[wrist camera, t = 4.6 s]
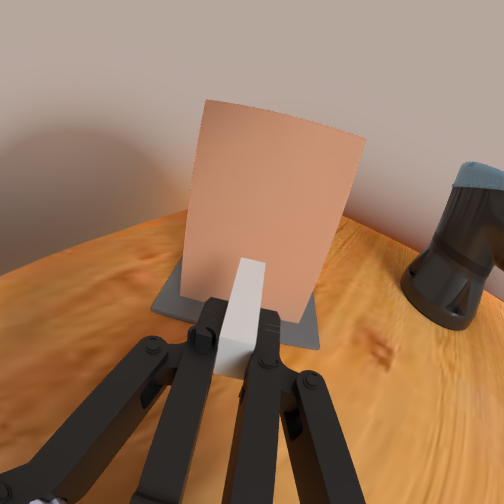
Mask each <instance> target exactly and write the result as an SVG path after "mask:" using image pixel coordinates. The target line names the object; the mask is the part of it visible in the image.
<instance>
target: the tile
mask: <svg viewBox="0 0 504 504" xmlns="http://www.w3.org/2000/svg"><path fill="white" fill-rule="evenodd" d="M365 141H366V139H365V138H362V137H359V136H357V135H354V134H351V133H348V132H345V131H342V130H339V129H336V128H333V127H330V126H326V125H323V124H320V123H316V122H313V121H309V120H305V119H302V118H298V117H294V116H290V115H286V114H282V113H278V112H273V111H269V110H264V109H259V108H255V107H249V106H244V105H239V104H233V103H227V102H220V101H213V100H206V101H205V106H204V111H203V116H202V121H201V127H200V132H199V138H198V144H197V150H196V156H195V162H194V169H193V176H192V183H191V189H190V197H189V205H188V213H187V221H186V230H185V240H184V250H183V261H182V273H181V286H180V296H183V297H186V298H190V299H194V300H198V301H202V302H205V301H207V300H208V299H209V298H210V297H214V298H218V299H223V300H227V301H229V300H230V296H231V292H232V289H233V285H234V281H235V278H236V274H237V271H238V267H239V263H240V260H241V257H243V258H247V259H251V260H255V261H260V262H264V263H266V264H265V273H264V281H263V289H262V298H261V306H260V308H264V309H268V310H273V311H277V312H278V314H279V316H280V318H281V320H284V321H288V322H293V323H298V324H299V322H300V320H301V317H302V315H303V313H304V310H305V308H306V306H307V303H308V301H309V299H310V296H311V294H312V292H313V289H314V287H315V284H316V282H317V280H318V277H319V275H320V272H321V270H322V267H323V265H324V262H325V259H326V257H327V254H328V252H329V249H330V246H331V244H332V241H333V238H334V236H335V233H336V230H337V227H338V225H339V222H340V219H341V216H342V213H343V211H344V208H345V205H346V202H347V199H348V196H349V193H350V189H351V186H352V183H353V181H354V178H355V174H356V171H357V168H358V165H359V161H360V158H361V155H362V151H363V148H364V145H365Z"/></svg>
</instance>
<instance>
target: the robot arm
mask: <svg viewBox="0 0 504 504" xmlns="http://www.w3.org/2000/svg"><path fill="white" fill-rule="evenodd" d="M452 187H453V189H452V191H451V194H450V197H449V199H448V202H447V205H446V207H445V210H444V212H443V215H442V217H441V220H440V222H439V224H438V227H437V229H436V231H435V234H434V236H433V238H432V240H431V242H430V243H429V245H428V246H427V247H426V248H425V249H424V250H423V251H422V252H421V253H420V254H419V255H418V256H417V257H416V258H415V260H414V261H413V262H412V263H411V264H410V265H409V266H408V267H407V268H406V270H405V272H404V274H403V276H402V278H401V287H402V289H403V291H404V293H405V295H406V296H407V298H408V299H409V300H410V301H411V303H412V304H413V305H414V306H415V307H416V308H417V309H418V310H419V311H420V312H422V313H423V314H424V315H425V316H427V317H428V318H429V319H431V320H432V321H434V322H436V323H437V324H439V325H441V326H443V327H446V328H448V329H452V330H459V331H460V330H464V329H466V328H467V327H468V326H469V325H470V323H471V322H472V320H473V319H474V317H475V315H476V313H477V309H478V306H479V303H480V300H481V296H482V293H483V289H484V285H485V282H486V279H487V278H488V276H489V274H490V272H491V270H492V268H493V267H494V265H495V266H497V267H498V268H500V269H501V270H502V271H504V172H503V171H501V170H499V169H496V168H493V167H491V166H488V165H485V164H482V163H477V162H465V163H464V164H463V165H462V166H461V167H460V170H459V172H458V175H457V177H456V180H455V182H454V184H453V185H452ZM265 264H266V263H264V262H260V261H255V260H251V259H247V258H243V257H241V260H240V263H239V267H238V271H237V274H236V278H235V281H234V285H233V289H232V292H231V296H230V300H229V301H227V300H223V299H218V298H214V297H210V298H209V299H208V300H207V301H205V303H204V306H203V309H202V311H201V314H200V317H199V319H198V322H197V324H196V325H194V326H192V327H190V329H189V330H188V336H187V341H186V342H185V343H181V344H167V343H166V341H165V340H164V339H162V338H161V337H158V336H147V337H144V338H143V339H141V340H140V341H139V342H138V343H137V344H136V345H135V347H134V348H133V349H132V350H131V351H130V352H129V353H128V354H127V355H126V356H125V357H124V358H123V359H122V360H121V361H120V362H119V363H118V365H117V366H116V367H115V368H114V369H113V370H112V371H111V372H110V373H109V374H108V375H107V376H106V377H105V378H104V380H103V381H102V382H101V383H100V384H99V385H98V386H97V387H96V388H95V389H94V390H93V391H92V393H91V394H90V395H89V396H88V397H87V398H86V399H85V400H84V401H83V402H82V403H81V405H80V406H79V407H78V408H77V409H76V410H75V411H74V412H73V413H72V414H71V416H70V417H69V418H68V419H67V420H66V421H65V422H64V423H63V424H62V426H61V427H60V428H59V429H58V430H57V431H56V432H55V433H54V435H53V436H52V437H51V438H50V439H49V440H48V441H47V442H46V444H45V445H44V446H43V447H42V448H41V449H40V450H39V452H38V453H37V454H36V455H35V456H34V457H33V458H32V460H31V461H30V462H29V463H27V464H24V465H22V466H19V467H17V468H14V469H12V470H9V471H7V472H4V473H1V474H0V504H75V503H76V502H78V501H79V500H80V499H81V498H82V497H83V496H84V495H85V494H86V493H87V492H88V491H89V489H90V488H91V487H92V485H93V484H94V483H95V481H96V480H97V479H98V478H99V476H100V475H101V474H102V472H103V471H104V470H105V468H106V467H107V466H108V464H109V463H110V462H111V461H112V459H113V458H114V457H115V455H116V454H117V453H118V451H119V450H120V449H121V447H122V446H123V445H124V443H125V442H126V441H127V439H128V438H129V437H130V435H131V434H132V433H133V431H134V430H135V429H136V427H137V426H138V425H139V423H140V422H141V421H142V419H143V418H144V417H145V415H146V414H147V413H148V411H149V410H150V409H151V407H152V406H153V405H154V403H155V402H156V401H157V399H158V398H159V397H160V395H161V394H162V393H163V391H164V390H165V388H166V387H167V386H168V385H172V386H171V389H170V392H169V395H168V397H167V400H166V403H165V406H164V409H163V412H162V415H161V418H160V421H159V423H158V426H157V429H156V432H155V435H154V438H153V441H152V444H151V447H150V450H149V453H148V456H147V460H146V463H145V466H144V469H143V472H142V475H141V478H140V482H139V485H138V488H137V490H136V491H135V493H134V494H133V496H132V498H131V500H130V503H129V504H181V503H182V499H183V495H184V490H185V486H186V482H187V478H188V474H189V469H190V465H191V461H192V457H193V453H194V449H195V445H196V441H197V436H198V432H199V428H200V424H201V420H202V416H203V412H204V408H205V404H206V400H207V396H208V392H209V388H210V384H211V379H212V375H213V373H214V374H219V375H223V376H227V377H232V378H236V379H241V380H243V379H244V382H243V386H242V388H241V391H240V394H239V396H238V397H240V399H239V405H238V411H237V417H236V423H235V429H234V435H233V440H232V446H231V452H230V458H229V464H228V469H227V475H226V480H225V486H224V492H223V497H222V503H221V504H273V494H274V483H275V472H276V460H277V446H278V431H279V415H280V417H281V421H282V426H283V430H284V435H285V439H286V444H287V448H288V453H289V457H290V461H291V466H292V470H293V474H294V479H295V483H296V488H297V492H298V496H299V500H300V504H366V503H365V500H364V496H363V493H362V490H361V487H360V484H359V481H358V477H357V474H356V471H355V468H354V465H353V462H352V459H351V456H350V453H349V450H348V447H347V444H346V441H345V438H344V435H343V432H342V429H341V426H340V423H339V421H338V418H337V415H336V412H335V409H334V406H333V403H332V400H331V398H330V395H329V392H328V389H327V386H326V384H325V381H324V379H323V377H322V376H321V375H320V374H318V373H317V372H315V371H311V370H305V371H302V372H301V373H298V372H295V371H293V370H291V369H289V368H287V367H286V366H285V365H284V364H283V363H282V361H281V359H280V355H279V350H280V323H281V318H280V316H279V314H278V312H277V311H273V310H268V309H264V308H260V306H261V298H262V289H263V281H264V273H265Z"/></svg>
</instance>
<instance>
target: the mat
mask: <svg viewBox="0 0 504 504" xmlns="http://www.w3.org/2000/svg"><path fill="white" fill-rule="evenodd" d="M182 261H183V257H182V258H181V260H180V261H179V263H178V265H177V266H176V268H175V269H174V271H173V272H172V274H171V276H170V277H169V279H168V281H167V282H166V284H165V285H164V287H163V289H162V290H161V292H160V294H159V295H158V297H157V298H156V300H155V302H154V303H153V305H152V307H151V311H152V312H156V313H159V314H162V315H166V316H169V317H173V318H176V319H180V320H183V321H187V322H190V323H194V324H197V322H198V319H199V317H200V314H201V311H202V309H203V306H204V303H205V302H202V301H198V300H194V299H190V298H186V297H183V296H180V286H181V273H182ZM280 343H281V344H286V345H292V346H297V347H303V348H309V349H315V350H319V348H320V344H319V335H318V326H317V318H316V310H315V302H314V294H313V292H312V294H311V296H310V299H309V301H308V303H307V306H306V308H305V310H304V313H303V315H302V317H301V320H300V322H299V324H298V323H293V322H288V321H284V320H281V323H280Z"/></svg>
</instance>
